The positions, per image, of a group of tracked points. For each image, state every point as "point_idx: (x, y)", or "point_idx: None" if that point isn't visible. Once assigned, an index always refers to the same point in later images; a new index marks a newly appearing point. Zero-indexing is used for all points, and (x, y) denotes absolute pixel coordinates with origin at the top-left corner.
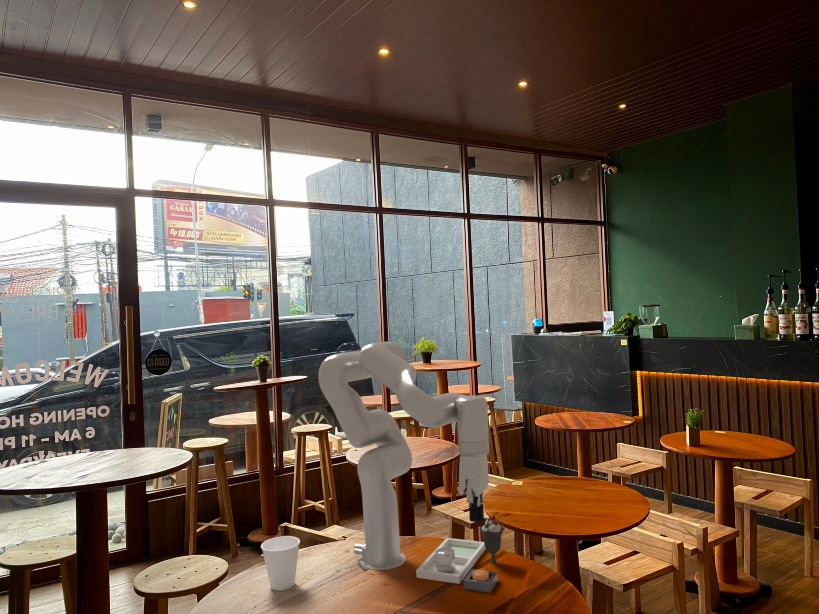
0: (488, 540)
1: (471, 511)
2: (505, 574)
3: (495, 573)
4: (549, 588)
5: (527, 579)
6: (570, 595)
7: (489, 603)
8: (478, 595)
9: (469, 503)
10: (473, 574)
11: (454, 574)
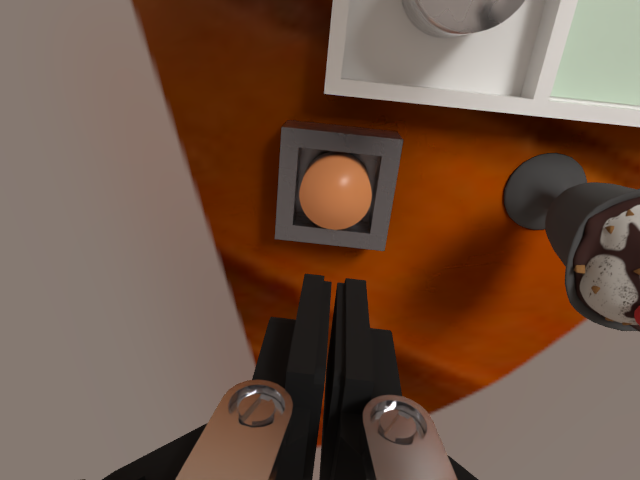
0: (567, 227)
1: (258, 358)
2: (471, 246)
3: (373, 245)
4: None
5: (436, 320)
6: None
7: (235, 225)
8: None
9: (213, 421)
10: (316, 168)
11: (339, 65)
